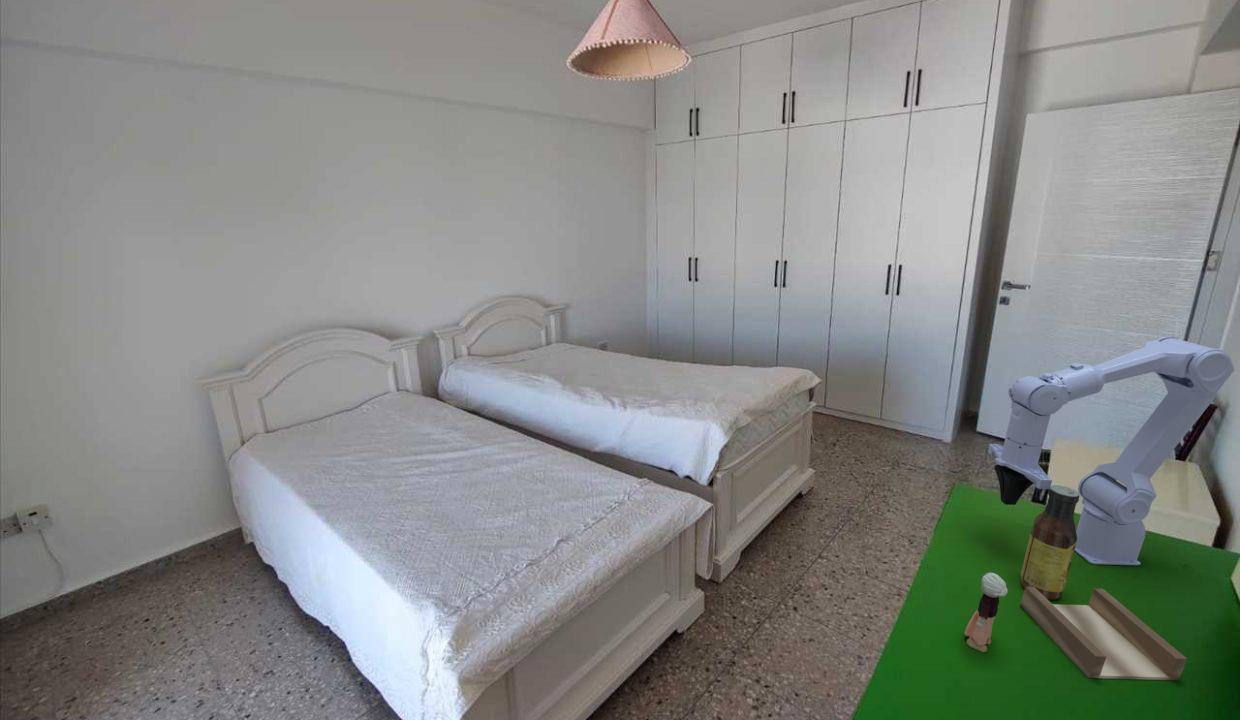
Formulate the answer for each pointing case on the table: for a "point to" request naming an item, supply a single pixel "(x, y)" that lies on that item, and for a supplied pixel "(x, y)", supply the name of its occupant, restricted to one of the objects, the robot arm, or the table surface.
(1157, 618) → the table surface
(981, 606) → the grandmother figurine
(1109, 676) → the u rest
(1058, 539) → the sauce bottle
